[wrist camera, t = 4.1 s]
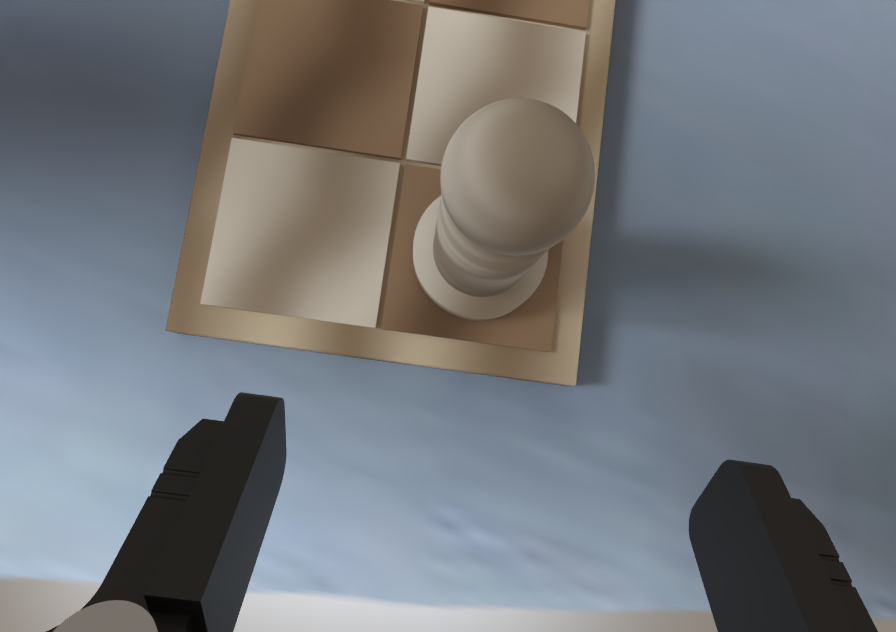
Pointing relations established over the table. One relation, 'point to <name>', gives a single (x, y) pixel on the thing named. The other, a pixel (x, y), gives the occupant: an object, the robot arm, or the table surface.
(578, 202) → the pawn
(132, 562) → the robot arm
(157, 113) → the table surface
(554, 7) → the board
